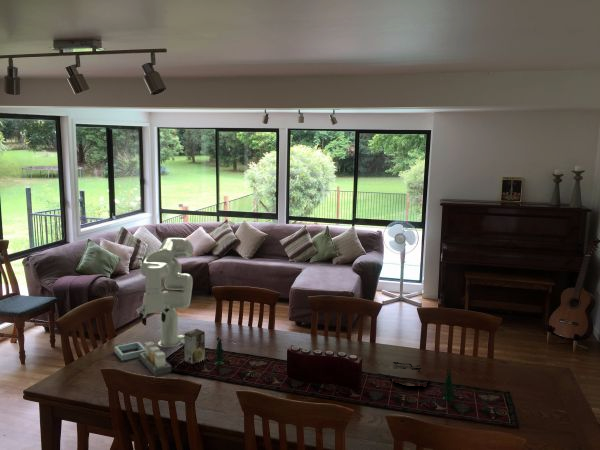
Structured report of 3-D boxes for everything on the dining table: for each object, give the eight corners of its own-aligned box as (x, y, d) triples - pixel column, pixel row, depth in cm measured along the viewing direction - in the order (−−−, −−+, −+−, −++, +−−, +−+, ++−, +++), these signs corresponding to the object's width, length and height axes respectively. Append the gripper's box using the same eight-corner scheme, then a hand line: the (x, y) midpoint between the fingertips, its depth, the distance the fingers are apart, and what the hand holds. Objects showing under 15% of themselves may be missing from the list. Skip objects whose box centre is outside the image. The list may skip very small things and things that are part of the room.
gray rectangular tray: (154, 356, 271) (154, 349, 270) (171, 373, 252) (171, 366, 251) (139, 360, 266) (139, 353, 265) (154, 377, 247) (154, 369, 247)
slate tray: (138, 348, 281) (138, 341, 280) (146, 356, 270) (146, 349, 270) (114, 353, 273) (114, 346, 273) (121, 362, 263) (121, 355, 262)
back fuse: (152, 357, 268) (152, 341, 266) (154, 360, 264) (154, 343, 263) (144, 359, 265) (144, 342, 264) (147, 361, 262) (147, 345, 261)
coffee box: (196, 356, 273) (196, 328, 270) (205, 360, 269) (205, 331, 266) (184, 362, 265) (183, 333, 263) (192, 365, 262) (192, 336, 259)
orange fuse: (157, 362, 262) (157, 346, 260) (160, 365, 258) (159, 348, 257) (149, 364, 259) (149, 347, 258) (152, 367, 256) (152, 350, 255)
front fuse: (162, 368, 256) (162, 351, 254) (165, 371, 252) (165, 354, 251) (154, 369, 253) (154, 353, 252) (157, 372, 250) (157, 355, 249)
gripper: (167, 286, 260) (167, 318, 263) (133, 290, 250) (134, 323, 253) (172, 289, 254) (173, 322, 257) (138, 294, 244) (139, 328, 247)
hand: (154, 322), depth 255 cm, fingers open, 9 cm apart
